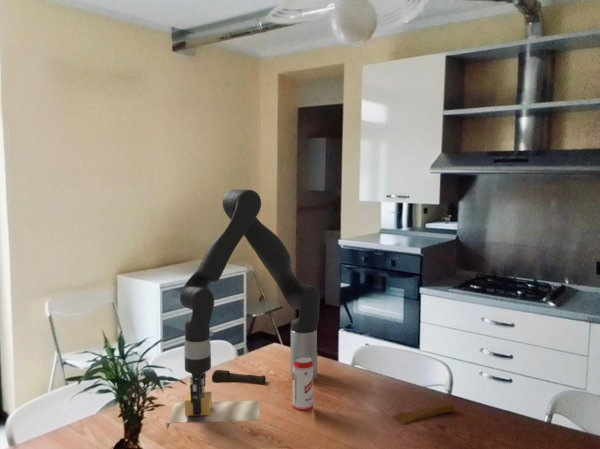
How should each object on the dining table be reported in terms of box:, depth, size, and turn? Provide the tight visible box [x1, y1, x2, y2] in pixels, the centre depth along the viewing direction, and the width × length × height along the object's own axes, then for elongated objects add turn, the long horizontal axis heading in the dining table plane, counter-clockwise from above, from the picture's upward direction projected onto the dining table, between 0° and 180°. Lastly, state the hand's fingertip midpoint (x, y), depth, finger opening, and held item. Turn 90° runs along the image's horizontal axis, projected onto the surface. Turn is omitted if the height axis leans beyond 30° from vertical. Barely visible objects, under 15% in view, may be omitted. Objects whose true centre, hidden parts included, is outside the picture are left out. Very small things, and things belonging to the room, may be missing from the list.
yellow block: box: [184, 391, 213, 416], centre depth 139 cm, size 7×6×5 cm
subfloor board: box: [166, 400, 261, 429], centre depth 140 cm, size 26×12×2 cm, turn 94°
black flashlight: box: [211, 369, 267, 386], centre depth 162 cm, size 19×4×5 cm, turn 76°
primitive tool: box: [392, 400, 455, 426], centre depth 141 cm, size 19×6×4 cm, turn 111°
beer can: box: [292, 356, 314, 412], centre depth 143 cm, size 6×6×16 cm
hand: (198, 408), depth 139 cm, fingers closed on yellow block, 5 cm apart
